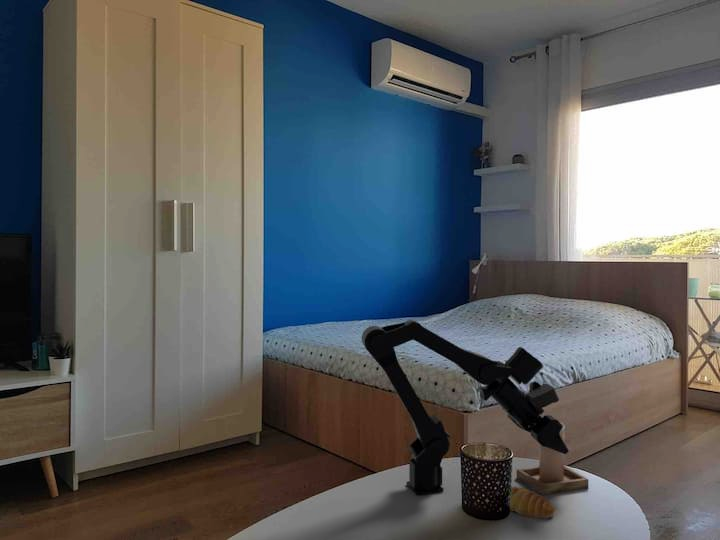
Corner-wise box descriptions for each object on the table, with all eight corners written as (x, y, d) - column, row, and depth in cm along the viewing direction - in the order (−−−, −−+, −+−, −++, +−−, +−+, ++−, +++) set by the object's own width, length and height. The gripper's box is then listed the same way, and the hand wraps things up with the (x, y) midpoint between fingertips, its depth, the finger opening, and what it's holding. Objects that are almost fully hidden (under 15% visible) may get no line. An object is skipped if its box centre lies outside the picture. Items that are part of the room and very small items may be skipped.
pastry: (559, 512, 115) (559, 494, 115) (546, 524, 110) (546, 505, 110) (516, 499, 121) (516, 482, 121) (501, 510, 116) (501, 492, 116)
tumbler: (554, 487, 125) (555, 429, 125) (533, 478, 130) (534, 423, 130) (569, 481, 129) (570, 424, 128) (548, 473, 133) (549, 419, 133)
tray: (542, 494, 123) (542, 485, 123) (516, 477, 132) (516, 469, 132) (588, 488, 126) (588, 479, 126) (559, 471, 136) (560, 463, 136)
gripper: (553, 382, 119) (603, 433, 120) (520, 365, 138) (563, 409, 139) (517, 420, 118) (567, 470, 120) (488, 398, 137) (532, 442, 138)
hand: (557, 445), depth 129 cm, fingers open, 9 cm apart
